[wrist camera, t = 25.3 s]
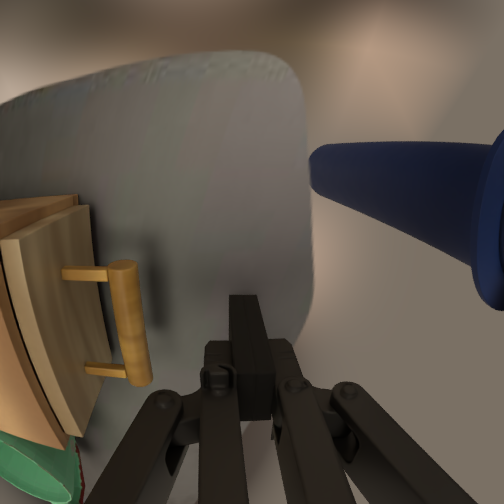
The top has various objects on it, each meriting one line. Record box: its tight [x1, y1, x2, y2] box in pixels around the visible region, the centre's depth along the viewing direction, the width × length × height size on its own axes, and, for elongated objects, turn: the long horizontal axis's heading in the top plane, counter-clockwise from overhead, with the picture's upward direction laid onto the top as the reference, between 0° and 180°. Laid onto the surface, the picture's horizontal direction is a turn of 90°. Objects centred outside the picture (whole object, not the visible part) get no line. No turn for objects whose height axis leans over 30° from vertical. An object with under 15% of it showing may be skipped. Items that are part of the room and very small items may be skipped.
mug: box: [0, 430, 85, 504], centre depth 17 cm, size 15×10×10 cm
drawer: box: [0, 205, 153, 437], centre depth 14 cm, size 17×11×8 cm
